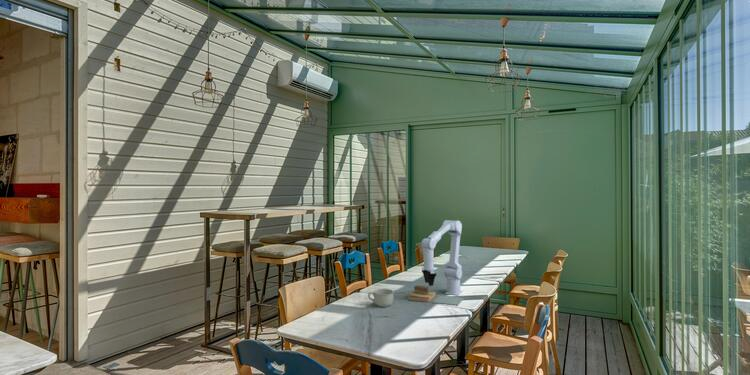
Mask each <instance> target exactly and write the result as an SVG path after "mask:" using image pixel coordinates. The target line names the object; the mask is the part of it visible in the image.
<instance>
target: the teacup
mask: <svg viewBox="0 0 750 375" xmlns="http://www.w3.org/2000/svg"><path fill="white" fill-rule="evenodd" d="M371 295H372V296H373V298H372V297H371ZM367 298H368V299H369V300H370V301H372V302H373V303H375V305H377V307H378V308H379V307H381V308H388V307H390V306H391V305H392V304H393V302H394V290H393V289H390V288H377V289H375V290H374V291H369V293H368V294H367Z"/></svg>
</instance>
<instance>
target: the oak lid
mask: <svg viewBox="0 0 750 375" xmlns="http://www.w3.org/2000/svg"><path fill="white" fill-rule="evenodd" d="M436 294H437V292H436V291H430V286H425V285H414V287H413V291H411V292H410V293H408V294H407V297H416V298H425V299H430V298H431V297H432V296H433V295H435V296H436Z"/></svg>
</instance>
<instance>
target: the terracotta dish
mask: <svg viewBox="0 0 750 375" xmlns="http://www.w3.org/2000/svg"><path fill="white" fill-rule="evenodd" d="M434 298H436V294H435V295H433V296H432V297H431V298H430V299H425V298H416V297H408V301H414V302H415V301H416V302H423V303H424V302H425V303H430V300H431V301H432V300H434Z"/></svg>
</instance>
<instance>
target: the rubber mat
mask: <svg viewBox="0 0 750 375" xmlns="http://www.w3.org/2000/svg"><path fill="white" fill-rule="evenodd" d="M463 301H464V298H462V297H455V296H454V297H453V296H443V295H439V296H438V297H436V298H435V299H433V301H432V304H438V305H445V304H446V305H447V306H455V305H456V307H457V306H459V305H460V304H461V303H462V302H463Z"/></svg>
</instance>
